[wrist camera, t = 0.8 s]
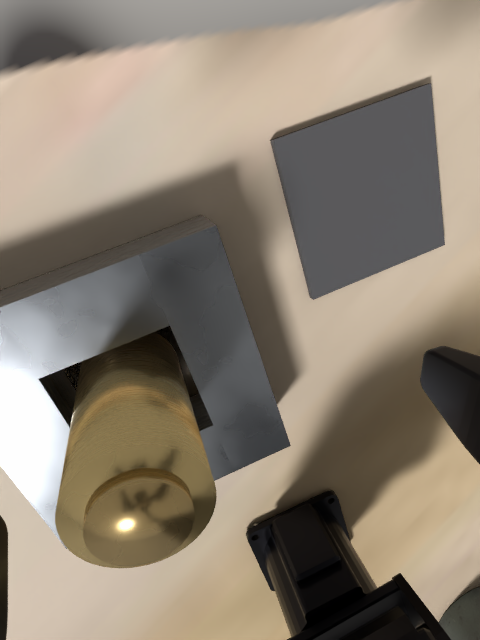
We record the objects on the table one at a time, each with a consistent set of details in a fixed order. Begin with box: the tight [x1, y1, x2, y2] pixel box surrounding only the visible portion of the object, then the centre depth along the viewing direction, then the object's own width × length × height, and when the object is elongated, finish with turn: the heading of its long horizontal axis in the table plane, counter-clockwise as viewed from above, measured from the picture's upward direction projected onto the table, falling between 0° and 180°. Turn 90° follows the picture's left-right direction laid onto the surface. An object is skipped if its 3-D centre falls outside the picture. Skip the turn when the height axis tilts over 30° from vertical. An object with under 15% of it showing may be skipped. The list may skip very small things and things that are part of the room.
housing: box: [0, 215, 291, 549], centre depth 19 cm, size 12×12×3 cm
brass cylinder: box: [55, 332, 216, 568], centre depth 16 cm, size 5×5×10 cm
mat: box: [270, 83, 445, 299], centre depth 20 cm, size 8×8×1 cm
